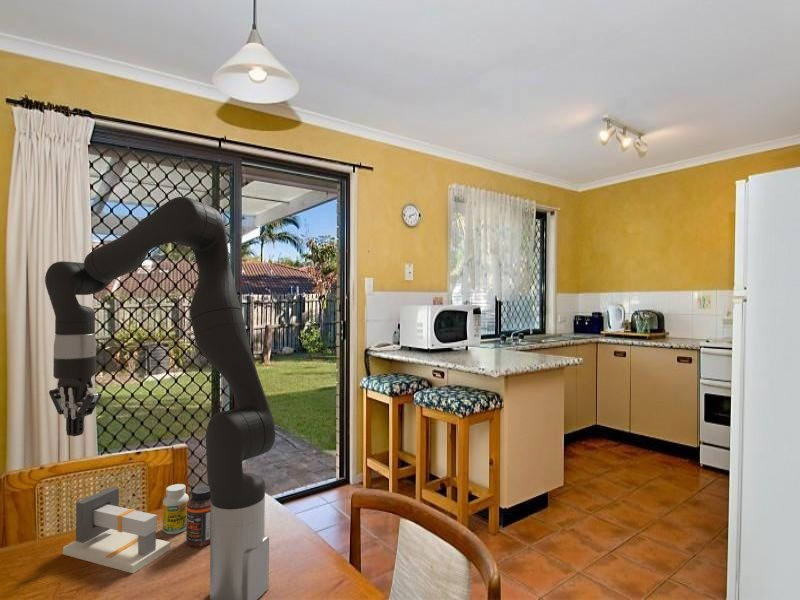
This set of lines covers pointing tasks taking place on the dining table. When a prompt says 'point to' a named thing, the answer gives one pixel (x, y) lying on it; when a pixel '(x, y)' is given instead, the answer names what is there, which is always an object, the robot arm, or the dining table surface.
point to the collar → (85, 513)
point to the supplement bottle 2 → (199, 517)
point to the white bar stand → (121, 539)
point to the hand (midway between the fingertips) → (74, 434)
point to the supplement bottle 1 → (175, 509)
